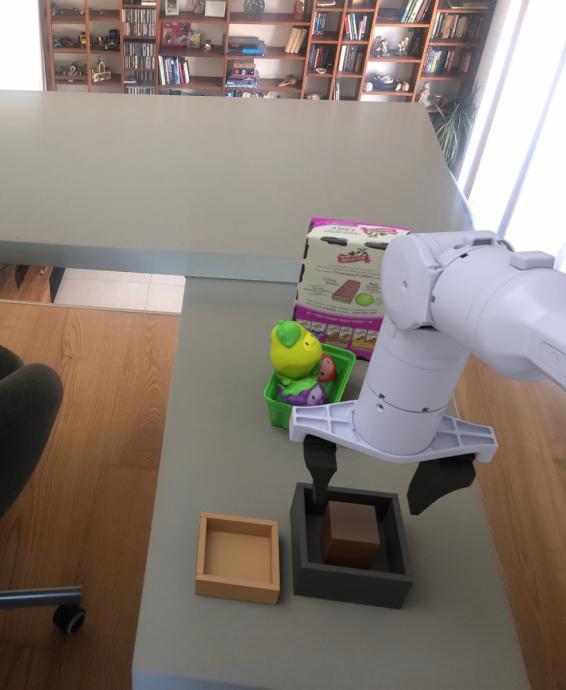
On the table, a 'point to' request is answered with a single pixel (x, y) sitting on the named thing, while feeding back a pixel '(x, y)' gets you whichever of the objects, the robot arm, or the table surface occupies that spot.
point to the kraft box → (238, 558)
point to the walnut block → (349, 535)
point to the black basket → (341, 582)
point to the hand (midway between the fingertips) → (364, 499)
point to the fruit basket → (303, 372)
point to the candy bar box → (343, 283)
